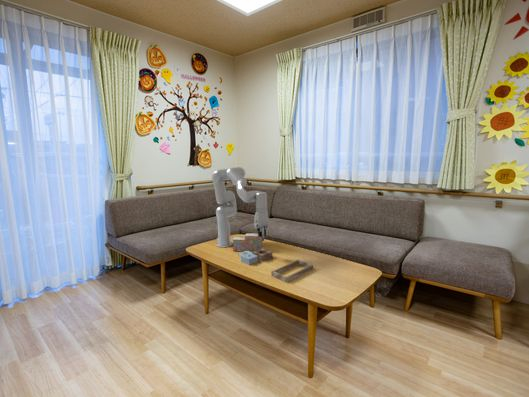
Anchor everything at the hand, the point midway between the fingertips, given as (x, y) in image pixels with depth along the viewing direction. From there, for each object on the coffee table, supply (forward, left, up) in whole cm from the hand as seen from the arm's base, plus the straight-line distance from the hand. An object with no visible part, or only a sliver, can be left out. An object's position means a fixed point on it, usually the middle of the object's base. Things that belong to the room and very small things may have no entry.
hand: (262, 235), depth 192 cm
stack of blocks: (-19, +3, -16) cm, 25 cm away
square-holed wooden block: (0, 0, -16) cm, 16 cm away
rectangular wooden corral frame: (+31, -4, -16) cm, 35 cm away
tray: (-10, -6, -16) cm, 20 cm away
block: (-1, -11, -16) cm, 19 cm away
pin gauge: (0, 0, -3) cm, 3 cm away
